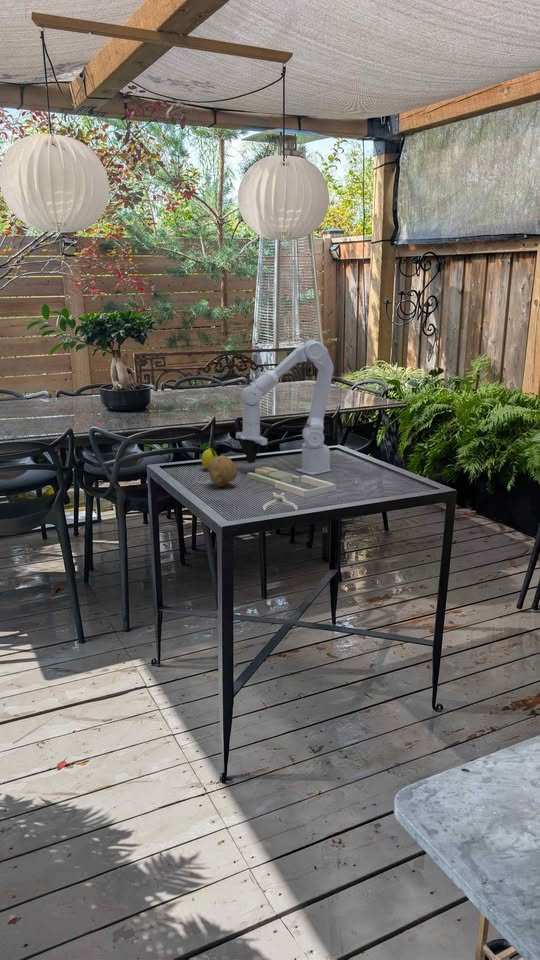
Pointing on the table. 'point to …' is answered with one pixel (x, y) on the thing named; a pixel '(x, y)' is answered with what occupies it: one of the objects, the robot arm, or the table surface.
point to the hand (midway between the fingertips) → (251, 462)
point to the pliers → (279, 498)
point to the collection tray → (322, 488)
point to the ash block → (264, 471)
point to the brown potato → (222, 470)
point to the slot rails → (268, 480)
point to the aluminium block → (281, 476)
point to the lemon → (207, 454)
